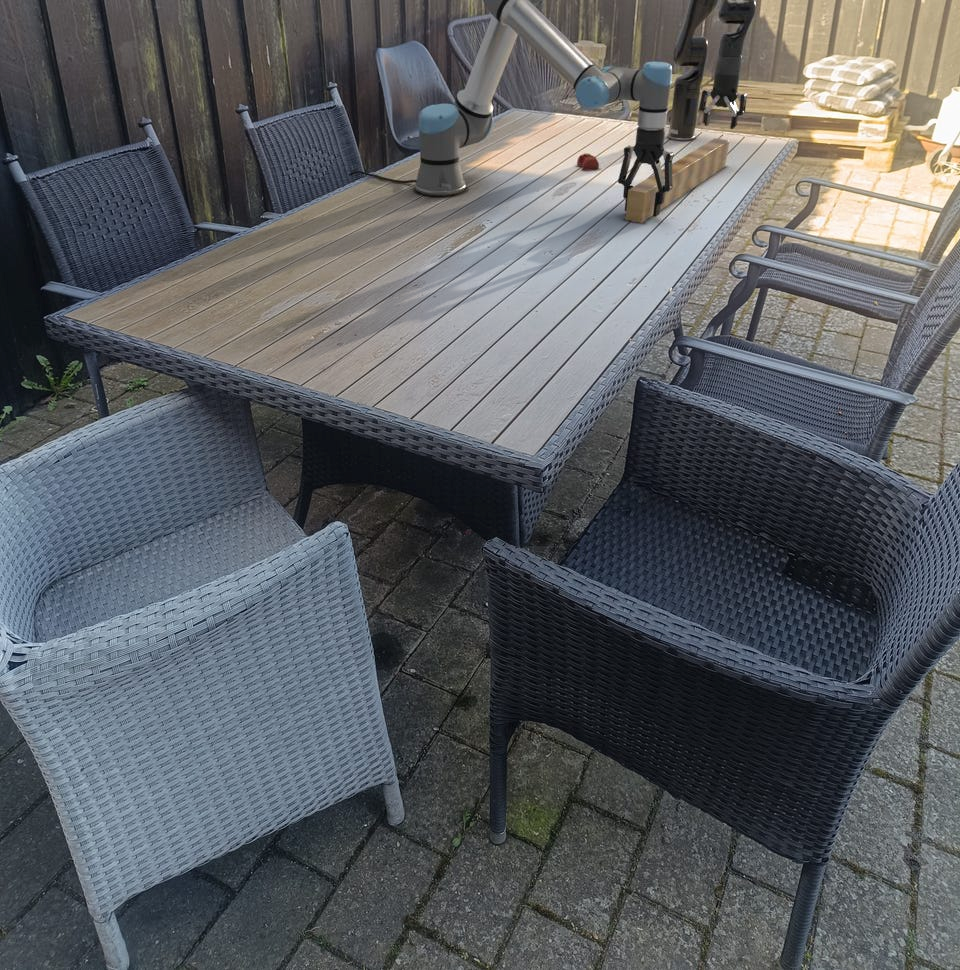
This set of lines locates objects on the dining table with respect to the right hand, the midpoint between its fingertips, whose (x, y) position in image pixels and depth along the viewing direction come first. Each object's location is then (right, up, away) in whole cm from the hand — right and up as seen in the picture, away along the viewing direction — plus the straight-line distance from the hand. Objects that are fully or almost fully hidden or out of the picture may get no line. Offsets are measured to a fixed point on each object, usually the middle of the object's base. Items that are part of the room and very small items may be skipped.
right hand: (719, 127), depth 269 cm
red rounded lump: (-41, -9, +9) cm, 43 cm away
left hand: (-31, -38, -32) cm, 58 cm away
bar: (-16, -25, -12) cm, 31 cm away
